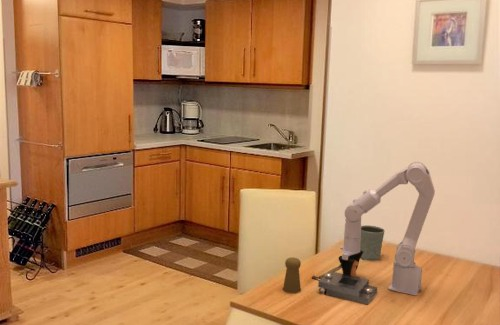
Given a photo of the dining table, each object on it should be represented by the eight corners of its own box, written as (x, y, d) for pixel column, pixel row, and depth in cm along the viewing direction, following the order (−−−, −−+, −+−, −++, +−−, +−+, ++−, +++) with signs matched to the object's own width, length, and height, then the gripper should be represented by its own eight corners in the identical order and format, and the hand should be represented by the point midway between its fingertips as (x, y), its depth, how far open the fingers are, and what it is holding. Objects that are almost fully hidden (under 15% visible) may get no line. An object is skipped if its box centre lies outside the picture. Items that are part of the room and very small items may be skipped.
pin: (358, 279, 182) (359, 260, 181) (354, 284, 178) (355, 265, 177) (345, 276, 185) (346, 258, 183) (340, 280, 180) (341, 262, 179)
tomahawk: (326, 286, 178) (326, 283, 177) (310, 279, 182) (311, 276, 182) (357, 270, 193) (357, 267, 193) (342, 264, 197) (342, 261, 197)
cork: (289, 284, 176) (290, 254, 174) (304, 289, 172) (305, 258, 170) (279, 289, 171) (280, 258, 169) (294, 294, 167) (295, 263, 166)
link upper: (368, 290, 172) (369, 276, 172) (358, 302, 163) (359, 287, 162) (329, 281, 179) (330, 268, 178) (317, 292, 170) (318, 278, 169)
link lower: (377, 292, 171) (377, 284, 170) (367, 304, 161) (368, 295, 161) (337, 283, 178) (338, 275, 177) (326, 294, 168) (326, 286, 168)
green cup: (352, 253, 209) (354, 226, 207) (373, 252, 212) (375, 224, 210) (365, 262, 199) (367, 233, 198) (387, 260, 202) (389, 231, 201)
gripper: (348, 229, 187) (346, 264, 189) (334, 240, 174) (332, 277, 176) (366, 233, 183) (364, 268, 185) (354, 243, 171) (351, 281, 173)
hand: (350, 273), depth 181 cm, fingers open, 7 cm apart
